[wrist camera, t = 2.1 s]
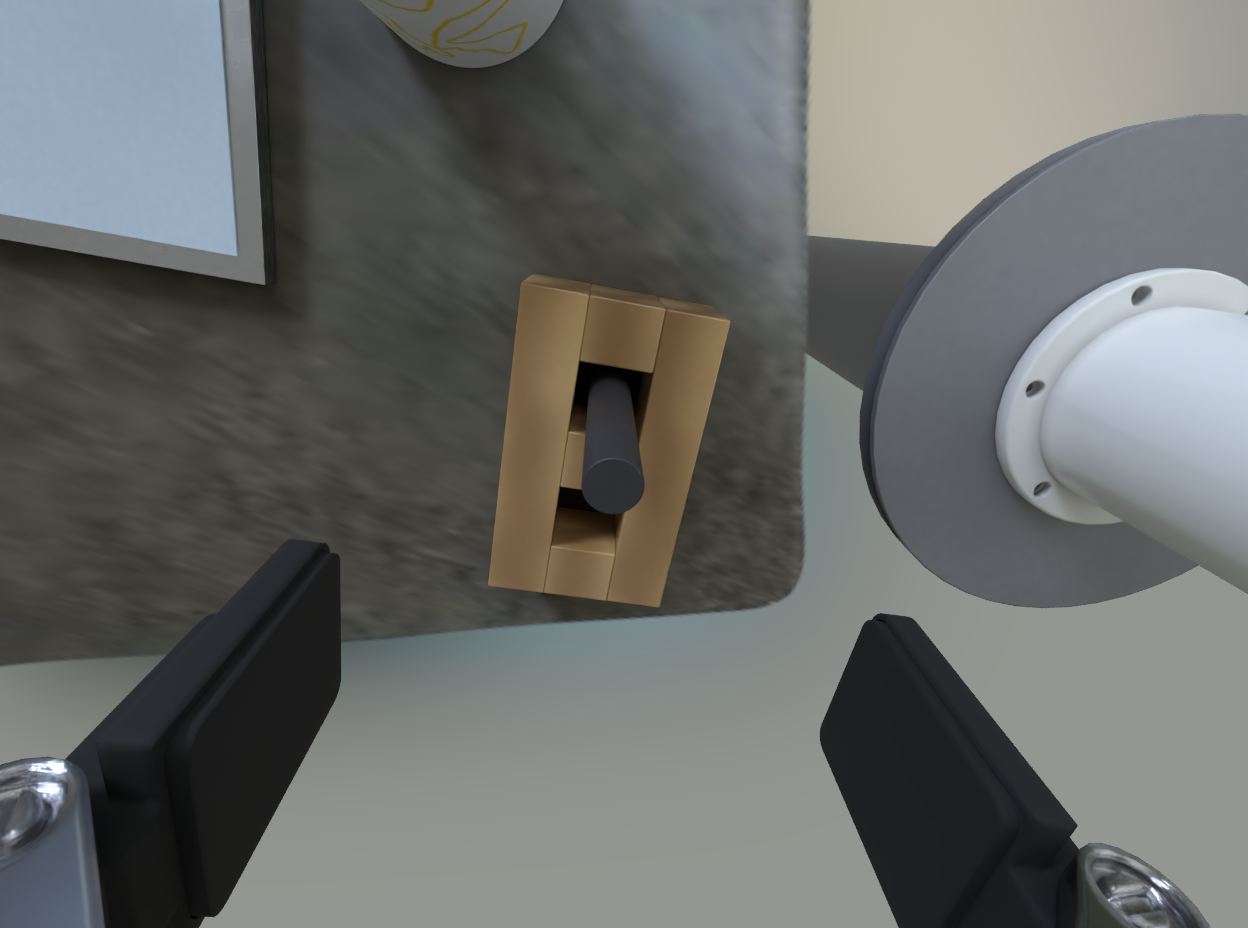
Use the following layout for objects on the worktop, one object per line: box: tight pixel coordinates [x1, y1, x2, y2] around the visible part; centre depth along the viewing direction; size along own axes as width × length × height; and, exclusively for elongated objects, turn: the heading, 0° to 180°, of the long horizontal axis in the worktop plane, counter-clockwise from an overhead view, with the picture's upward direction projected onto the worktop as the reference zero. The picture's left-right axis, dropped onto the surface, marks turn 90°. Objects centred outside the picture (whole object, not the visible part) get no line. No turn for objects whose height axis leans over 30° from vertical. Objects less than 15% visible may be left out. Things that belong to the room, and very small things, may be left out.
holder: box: [488, 273, 730, 607], centre depth 27 cm, size 8×14×4 cm, turn 170°
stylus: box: [581, 365, 645, 514], centre depth 22 cm, size 2×2×12 cm
